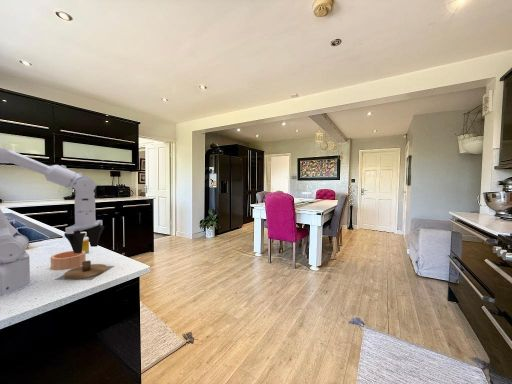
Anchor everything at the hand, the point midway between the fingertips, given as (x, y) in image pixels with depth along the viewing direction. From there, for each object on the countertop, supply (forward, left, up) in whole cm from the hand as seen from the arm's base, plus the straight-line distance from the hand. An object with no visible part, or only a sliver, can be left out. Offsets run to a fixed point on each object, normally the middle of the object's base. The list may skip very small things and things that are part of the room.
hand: (86, 249), depth 79 cm
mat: (0, 0, -9) cm, 9 cm away
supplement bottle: (+21, +18, -9) cm, 29 cm away
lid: (0, 0, -8) cm, 8 cm away
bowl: (+7, +12, -9) cm, 16 cm away
